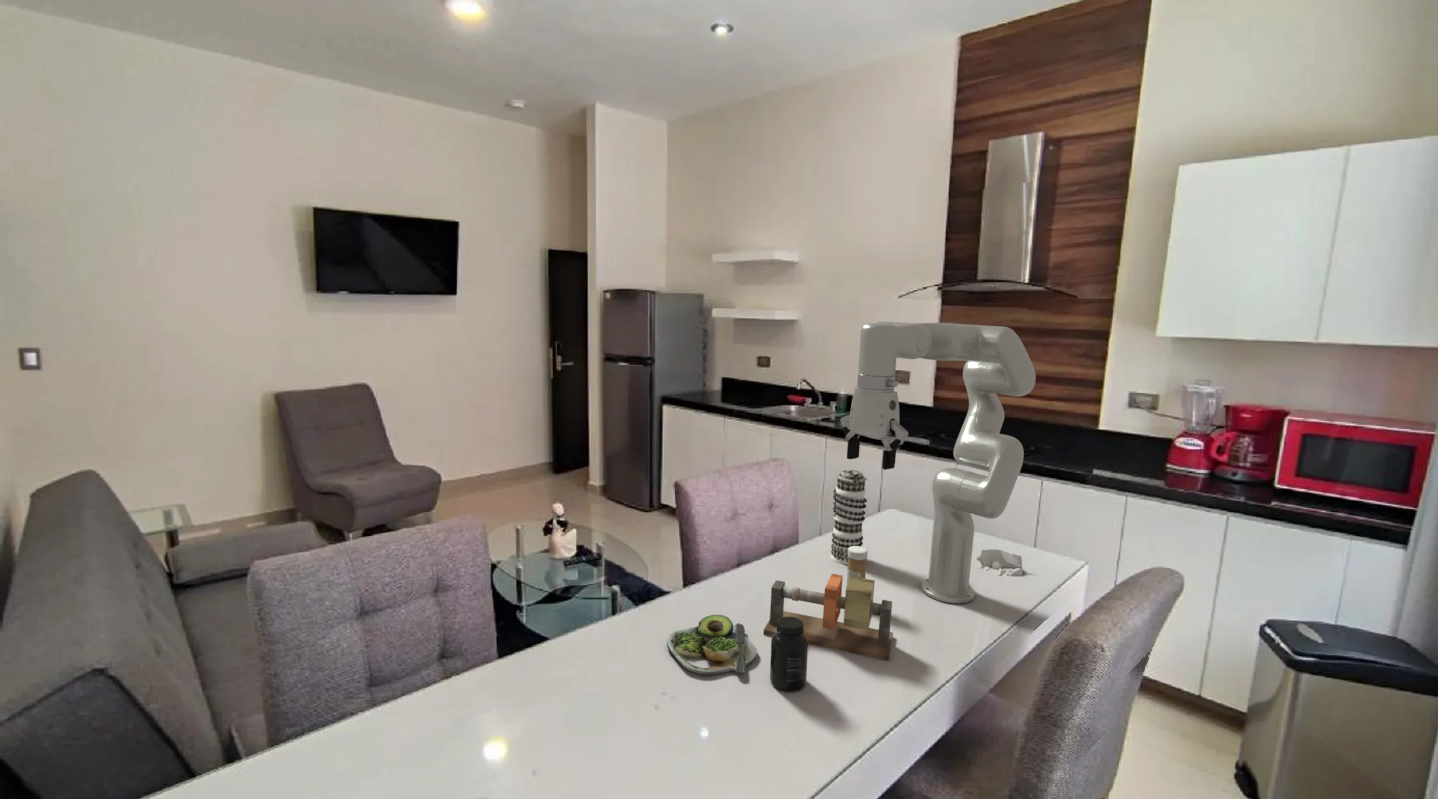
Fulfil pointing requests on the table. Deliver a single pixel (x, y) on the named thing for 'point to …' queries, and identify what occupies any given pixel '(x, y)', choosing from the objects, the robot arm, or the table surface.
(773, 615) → the machine model on base
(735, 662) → the avocado toast plate
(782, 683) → the supplement bottle
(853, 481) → the decorative candle
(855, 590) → the sleeve
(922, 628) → the table surface
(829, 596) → the orange rectangular slab
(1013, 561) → the grey relief sculpture
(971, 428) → the robot arm
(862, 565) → the sprinkles bottle
